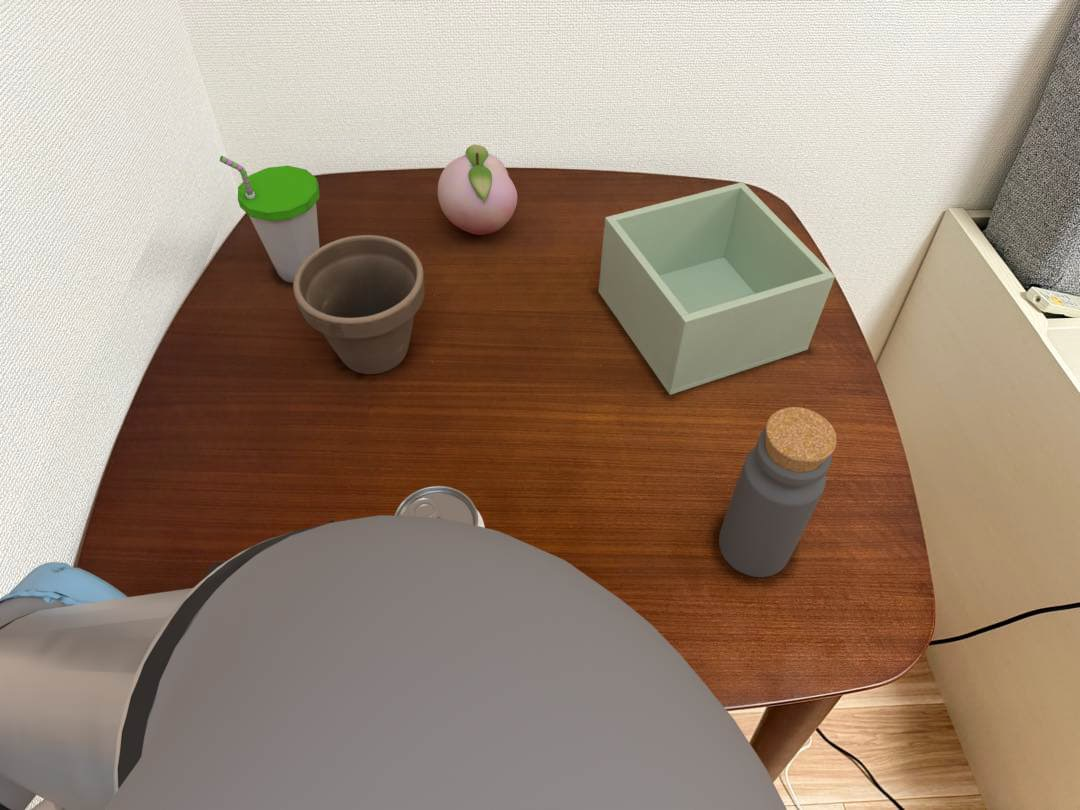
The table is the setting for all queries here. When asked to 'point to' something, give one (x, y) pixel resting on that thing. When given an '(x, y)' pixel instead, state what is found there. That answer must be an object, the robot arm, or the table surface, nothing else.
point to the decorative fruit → (477, 192)
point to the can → (440, 505)
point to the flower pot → (362, 299)
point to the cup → (282, 213)
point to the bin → (711, 285)
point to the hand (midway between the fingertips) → (399, 593)
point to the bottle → (777, 491)
